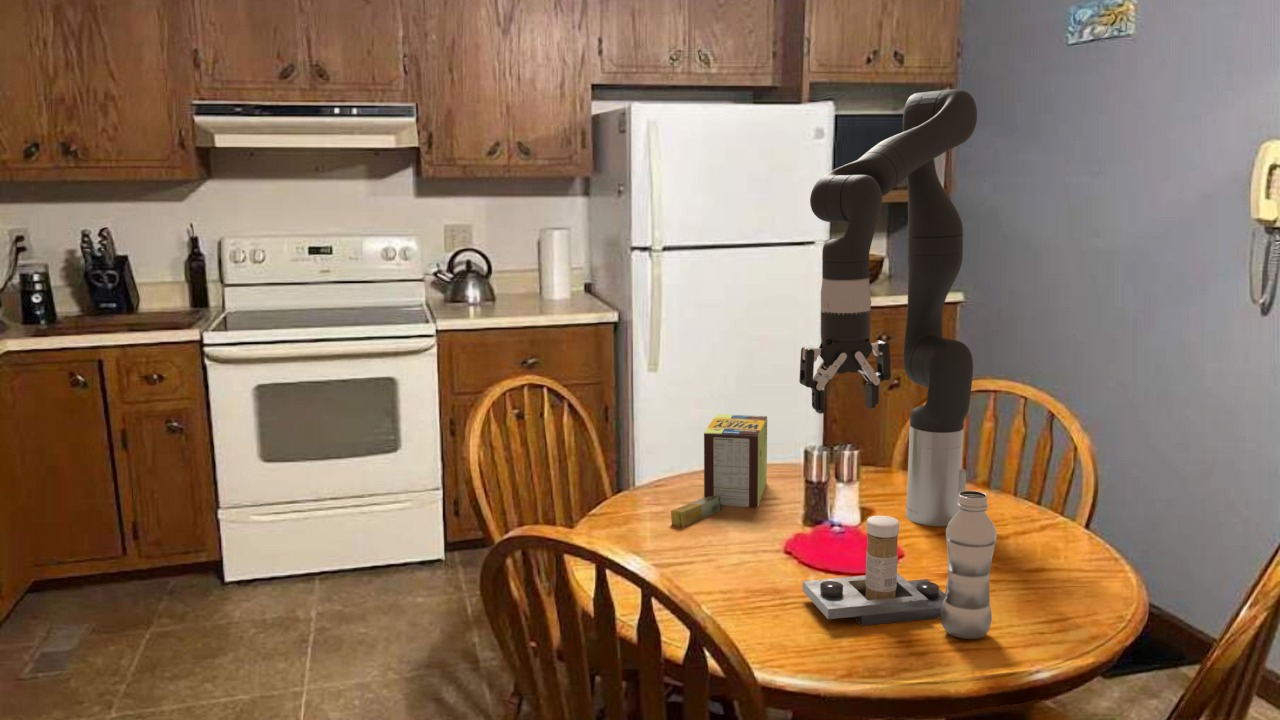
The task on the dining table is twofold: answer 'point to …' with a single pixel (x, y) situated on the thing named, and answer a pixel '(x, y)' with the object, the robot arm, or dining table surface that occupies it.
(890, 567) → the sprinkles bottle
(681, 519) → the medication box
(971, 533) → the plastic bottle
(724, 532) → the dining table surface
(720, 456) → the protein box
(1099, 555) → the dining table surface
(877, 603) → the grey slotted fixture plate
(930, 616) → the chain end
